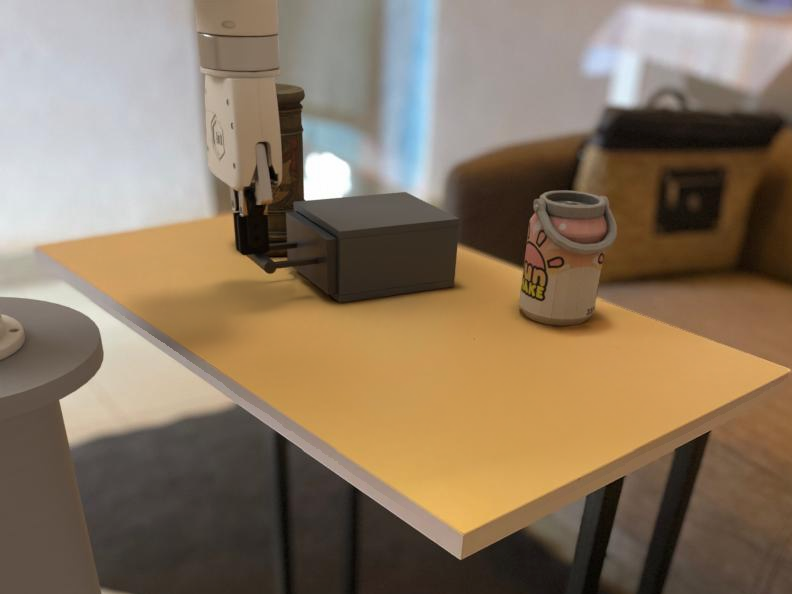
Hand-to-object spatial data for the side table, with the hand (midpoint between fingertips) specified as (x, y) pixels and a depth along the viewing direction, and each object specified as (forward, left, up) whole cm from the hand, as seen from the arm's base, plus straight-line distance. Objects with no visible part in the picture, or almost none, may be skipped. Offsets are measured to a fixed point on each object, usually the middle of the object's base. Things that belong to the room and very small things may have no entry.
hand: (252, 251), depth 90 cm
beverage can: (+30, -14, -5) cm, 34 cm away
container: (+5, +16, -5) cm, 18 cm away
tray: (+10, +2, -4) cm, 10 cm away
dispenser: (+14, +2, -5) cm, 15 cm away
